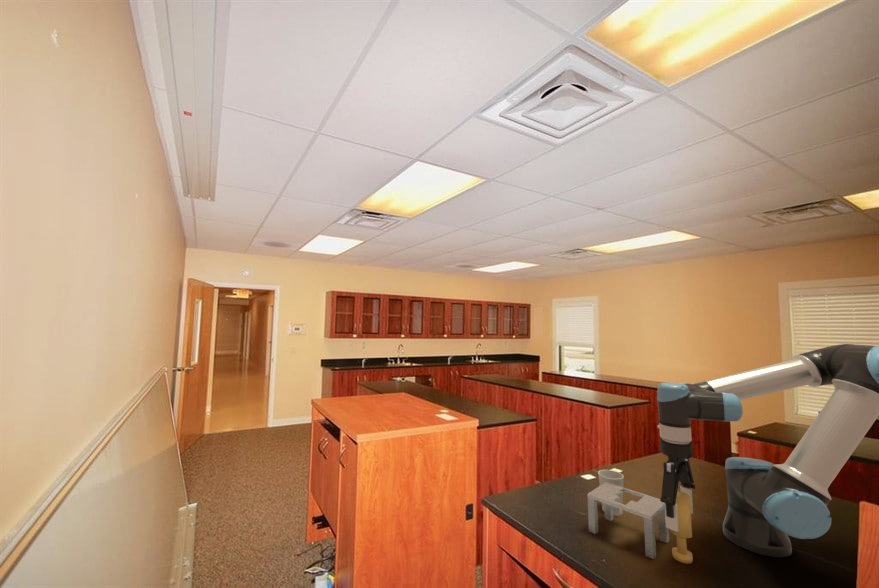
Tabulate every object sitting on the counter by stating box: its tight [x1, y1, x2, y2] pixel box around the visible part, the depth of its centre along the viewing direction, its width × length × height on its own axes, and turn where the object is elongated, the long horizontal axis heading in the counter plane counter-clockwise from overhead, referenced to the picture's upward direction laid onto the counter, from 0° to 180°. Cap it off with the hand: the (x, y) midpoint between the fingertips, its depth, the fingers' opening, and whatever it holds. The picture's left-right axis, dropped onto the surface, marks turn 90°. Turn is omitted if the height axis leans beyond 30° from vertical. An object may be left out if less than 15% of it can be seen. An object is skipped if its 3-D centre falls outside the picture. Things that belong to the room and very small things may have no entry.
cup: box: [597, 469, 625, 517], centre depth 123 cm, size 8×8×12 cm
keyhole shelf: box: [586, 482, 670, 560], centre depth 108 cm, size 18×13×11 cm
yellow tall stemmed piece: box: [669, 490, 694, 565], centre depth 98 cm, size 5×5×16 cm
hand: (680, 520), depth 98 cm, fingers open, 13 cm apart
